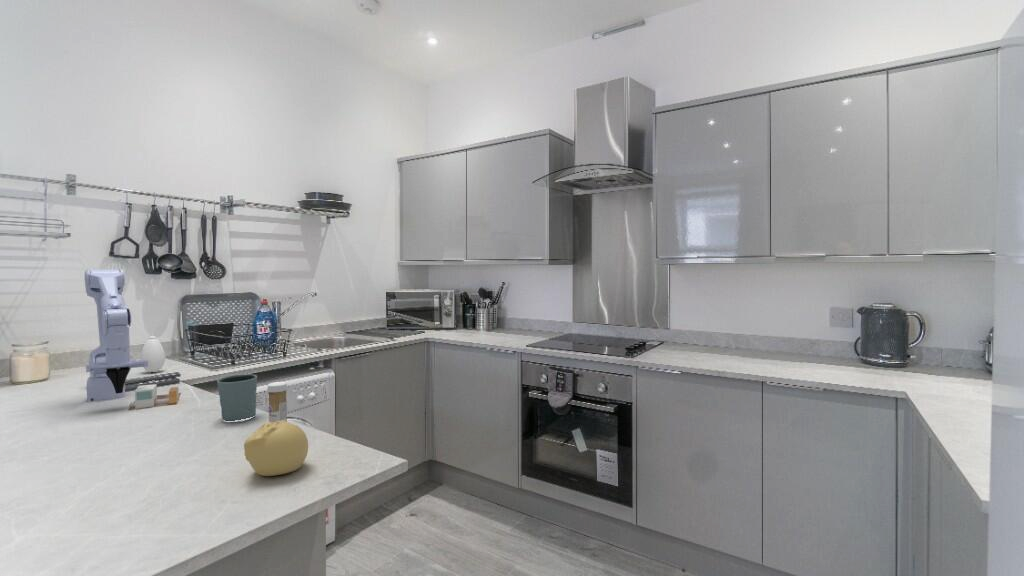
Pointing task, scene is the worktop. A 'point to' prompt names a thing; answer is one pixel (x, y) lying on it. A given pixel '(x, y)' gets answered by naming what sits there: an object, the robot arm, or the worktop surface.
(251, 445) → the sculpture
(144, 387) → the block
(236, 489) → the worktop surface
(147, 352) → the sauce bottle
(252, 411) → the teal cup
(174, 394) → the rail
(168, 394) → the board
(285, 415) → the sprinkles bottle
